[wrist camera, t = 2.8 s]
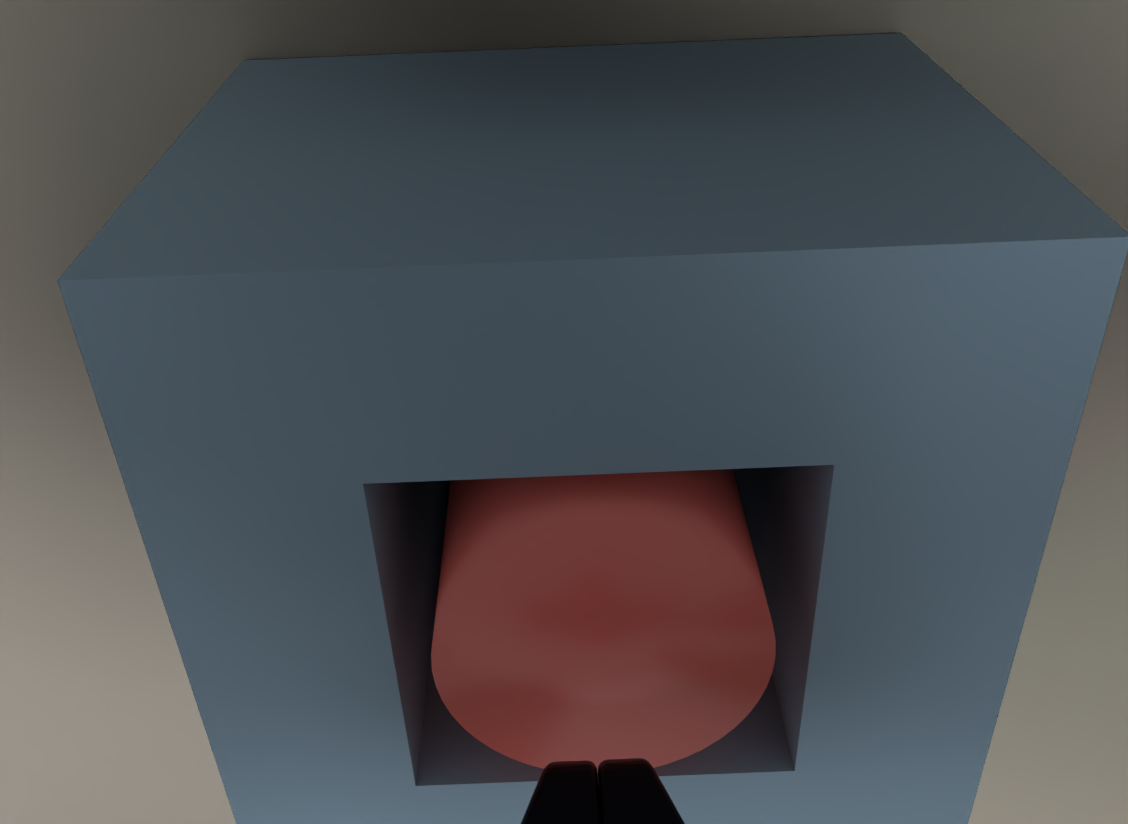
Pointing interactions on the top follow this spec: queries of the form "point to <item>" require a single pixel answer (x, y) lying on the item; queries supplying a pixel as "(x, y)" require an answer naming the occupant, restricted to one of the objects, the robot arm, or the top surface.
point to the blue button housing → (597, 394)
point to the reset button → (600, 615)
